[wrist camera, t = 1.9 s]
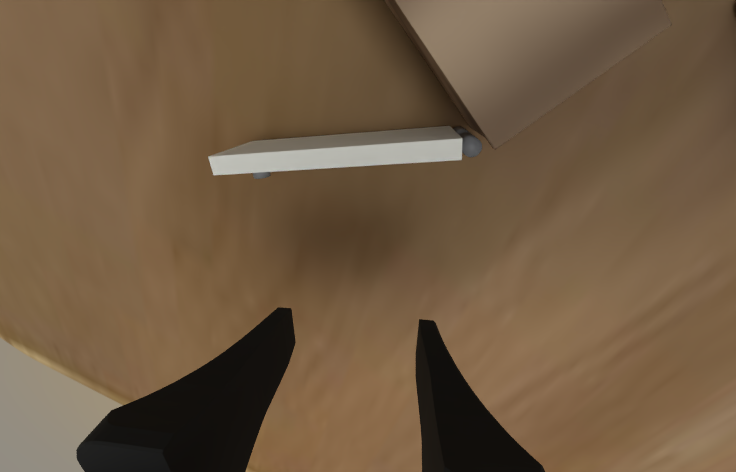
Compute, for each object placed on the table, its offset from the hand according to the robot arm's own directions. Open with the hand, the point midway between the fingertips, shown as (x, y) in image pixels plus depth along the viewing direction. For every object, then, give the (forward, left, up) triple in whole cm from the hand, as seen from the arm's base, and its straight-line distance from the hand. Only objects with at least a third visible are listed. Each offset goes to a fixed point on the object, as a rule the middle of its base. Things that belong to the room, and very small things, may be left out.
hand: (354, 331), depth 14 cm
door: (+6, -3, -10) cm, 12 cm away
